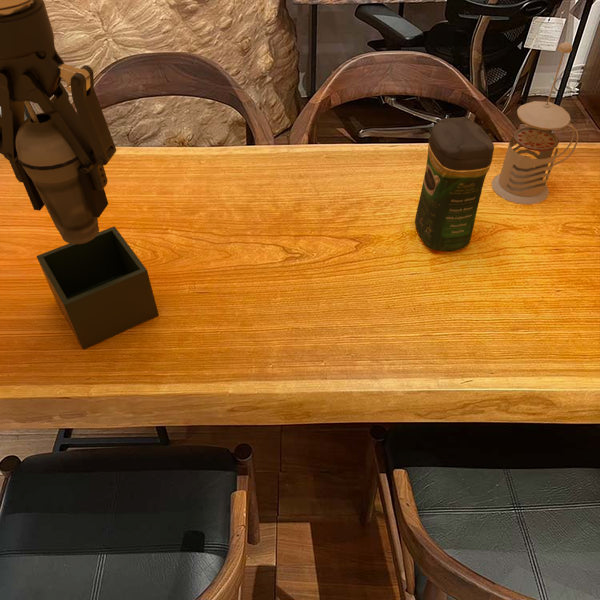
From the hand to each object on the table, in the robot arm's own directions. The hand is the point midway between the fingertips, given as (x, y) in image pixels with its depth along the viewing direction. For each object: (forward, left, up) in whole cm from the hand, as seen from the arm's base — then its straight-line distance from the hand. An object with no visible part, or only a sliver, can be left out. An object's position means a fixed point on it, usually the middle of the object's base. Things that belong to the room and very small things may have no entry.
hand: (71, 206), depth 70 cm
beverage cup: (0, 0, -4) cm, 4 cm away
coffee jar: (+15, +50, -18) cm, 55 cm away
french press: (+14, +71, -18) cm, 74 cm away
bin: (0, 0, -18) cm, 18 cm away
